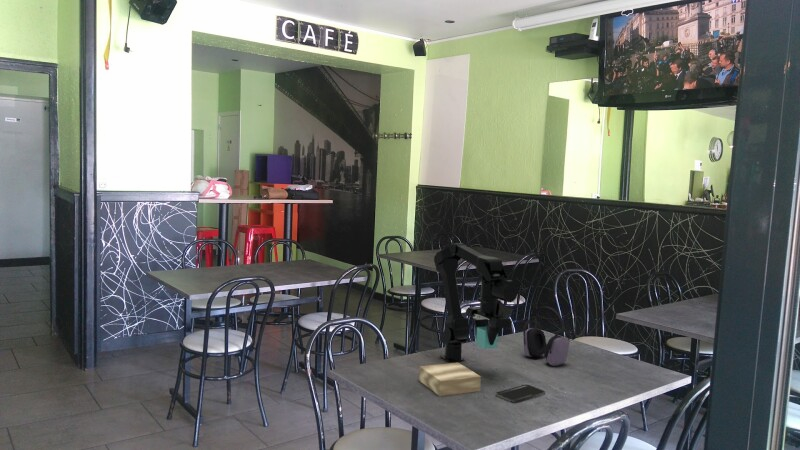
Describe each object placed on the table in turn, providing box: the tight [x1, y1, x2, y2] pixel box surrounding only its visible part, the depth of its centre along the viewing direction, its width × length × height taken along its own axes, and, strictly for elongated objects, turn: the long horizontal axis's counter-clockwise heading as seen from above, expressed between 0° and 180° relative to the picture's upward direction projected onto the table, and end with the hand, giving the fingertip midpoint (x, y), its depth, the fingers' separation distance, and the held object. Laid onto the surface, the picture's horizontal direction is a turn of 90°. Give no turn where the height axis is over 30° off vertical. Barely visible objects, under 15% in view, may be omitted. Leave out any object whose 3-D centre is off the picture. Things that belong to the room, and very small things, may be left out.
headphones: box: [523, 305, 571, 367], centre depth 211 cm, size 9×17×20 cm, turn 34°
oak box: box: [418, 362, 482, 397], centre depth 181 cm, size 14×14×5 cm
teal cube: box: [475, 326, 499, 350], centre depth 192 cm, size 5×5×6 cm
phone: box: [495, 384, 546, 404], centre depth 176 cm, size 8×1×15 cm
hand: (486, 342), depth 192 cm, fingers closed on teal cube, 5 cm apart
